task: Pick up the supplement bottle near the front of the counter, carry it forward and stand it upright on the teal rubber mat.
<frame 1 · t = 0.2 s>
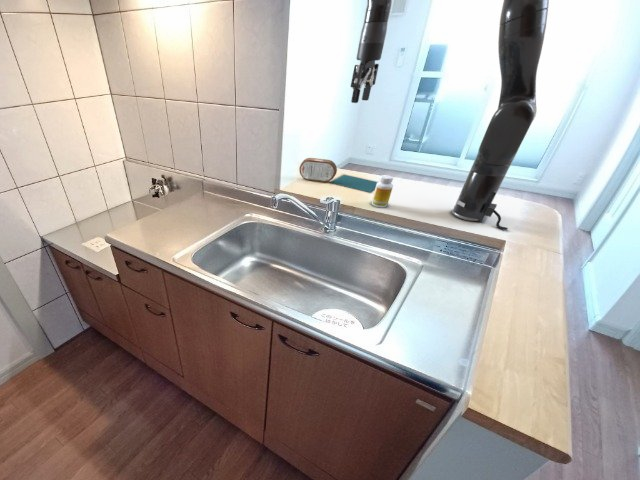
hand: (359, 101, 112), 29 cm above the worktop, tool pointing down, fingers open, 8 cm apart
supplement bottle: (379, 205, 114), on the worktop
tin: (316, 180, 134), on the worktop, touching mat
mat: (356, 183, 132), on the worktop
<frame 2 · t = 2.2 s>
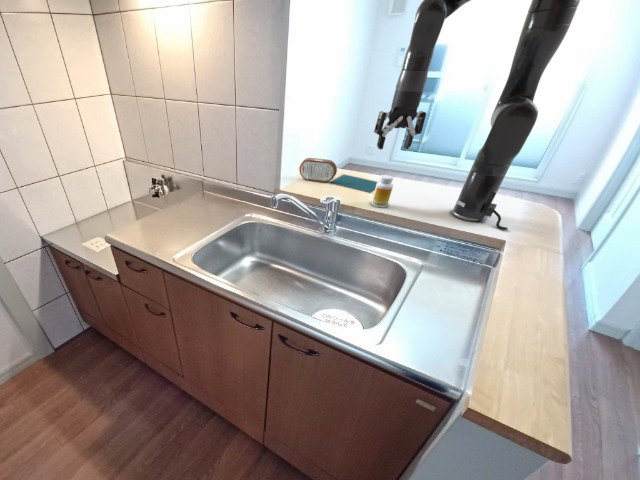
hand: (392, 148, 104), 18 cm above the worktop, tool pointing down, fingers open, 8 cm apart
nothing on the worktop moved.
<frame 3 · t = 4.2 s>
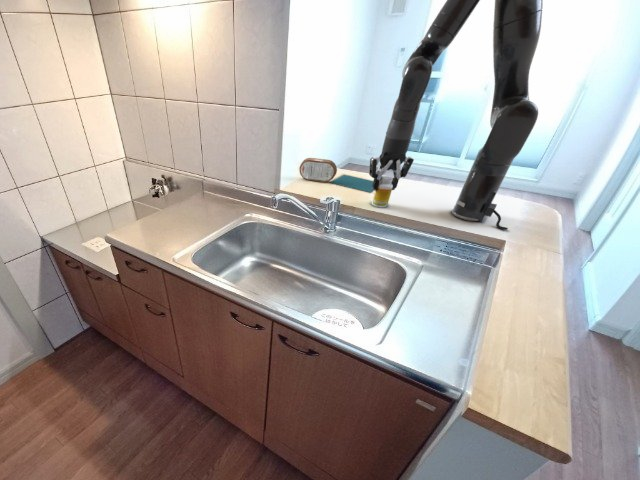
hand: (383, 189, 111), 5 cm above the worktop, tool pointing down, fingers closed on supplement bottle, 5 cm apart
supplement bottle: (379, 205, 114), on the worktop, touching gripper
everything else where it was.
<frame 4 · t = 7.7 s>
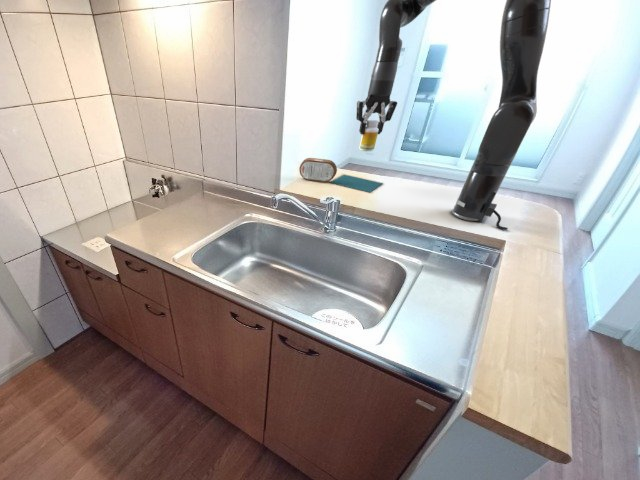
hand: (370, 133, 118), 19 cm above the worktop, tool pointing down, fingers closed on supplement bottle, 5 cm apart
supplement bottle: (366, 150, 122), point 13 cm above the worktop, touching gripper
everything else where it was.
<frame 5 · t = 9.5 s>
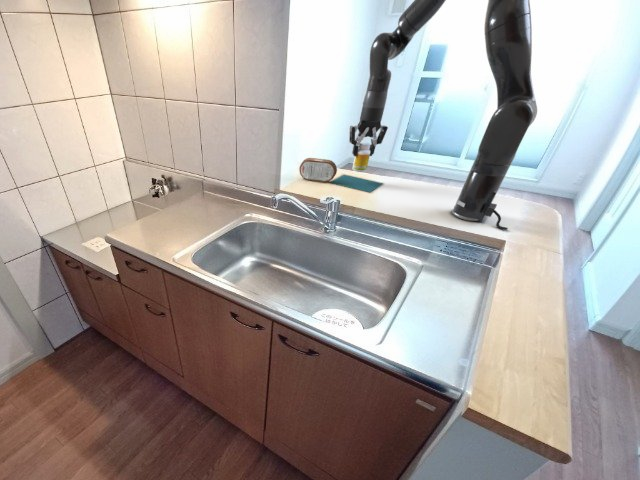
hand: (362, 155, 125), 11 cm above the worktop, tool pointing down, fingers closed on supplement bottle, 5 cm apart
supplement bottle: (359, 170, 129), point 5 cm above the worktop, touching gripper
everything else where it was.
when the fingers open (6 cm above the worktop, at t = 11.2 s): supplement bottle stays where it is, resting on mat.
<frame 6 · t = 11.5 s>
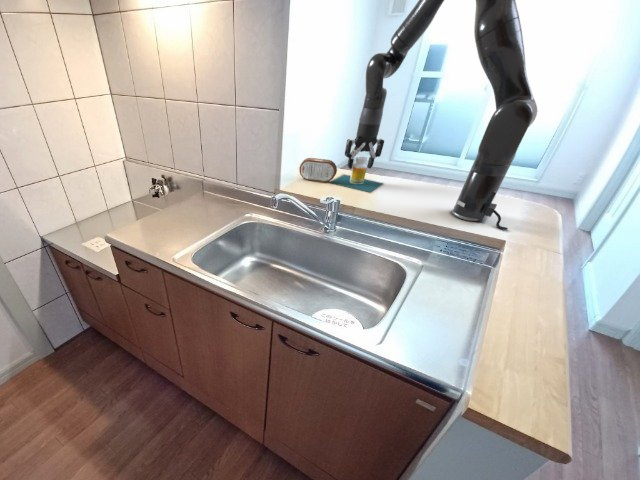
hand: (359, 168, 128), 6 cm above the worktop, tool pointing down, fingers open, 7 cm apart
supplement bottle: (356, 183, 132), resting on mat
everything else where it was.
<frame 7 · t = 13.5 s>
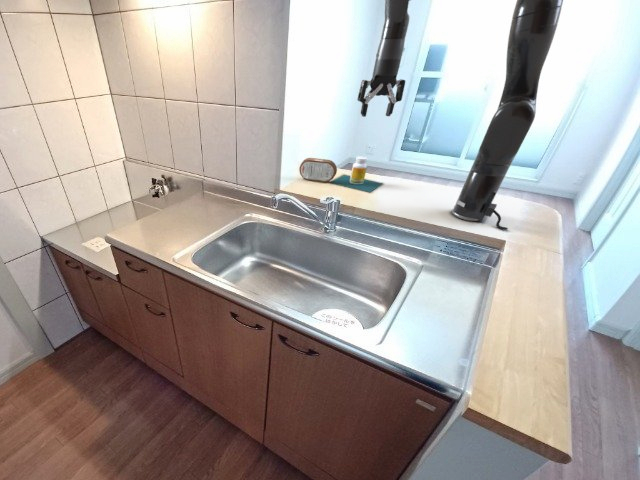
hand: (375, 116, 111), 25 cm above the worktop, tool pointing down, fingers open, 8 cm apart
nothing on the worktop moved.
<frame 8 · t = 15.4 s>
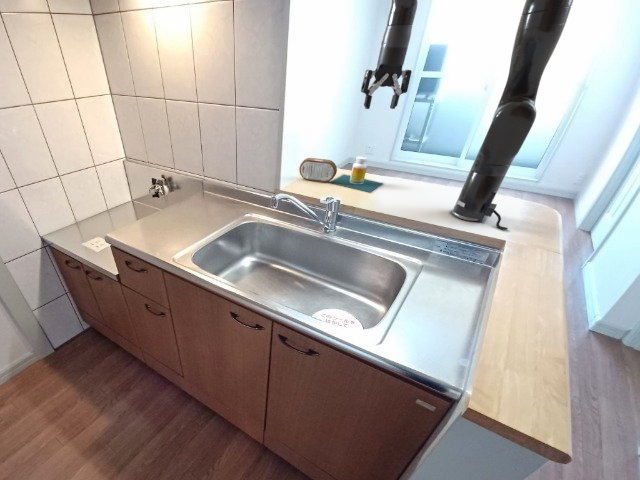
hand: (379, 108, 105), 28 cm above the worktop, tool pointing down, fingers open, 8 cm apart
nothing on the worktop moved.
at the end: supplement bottle inside the target area on the mat (0.0 cm from its centre), point 0.0 cm above the mat's base; supplement bottle tilted 0°; supplement bottle moved 22.6 cm from its start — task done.
